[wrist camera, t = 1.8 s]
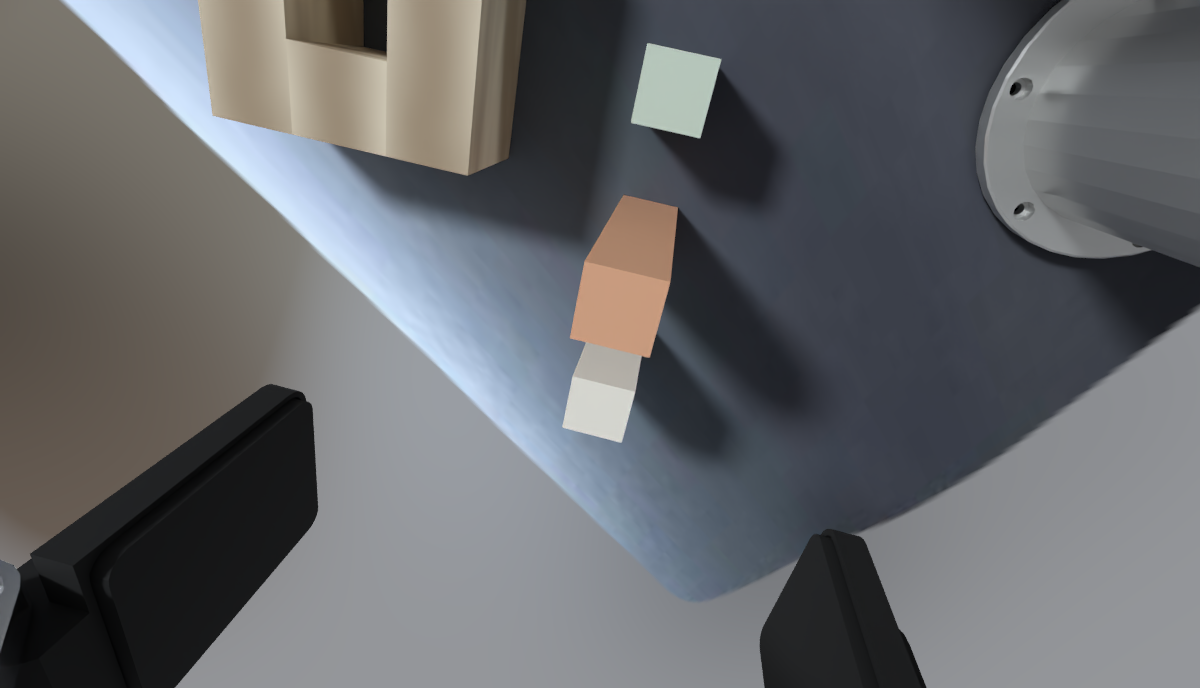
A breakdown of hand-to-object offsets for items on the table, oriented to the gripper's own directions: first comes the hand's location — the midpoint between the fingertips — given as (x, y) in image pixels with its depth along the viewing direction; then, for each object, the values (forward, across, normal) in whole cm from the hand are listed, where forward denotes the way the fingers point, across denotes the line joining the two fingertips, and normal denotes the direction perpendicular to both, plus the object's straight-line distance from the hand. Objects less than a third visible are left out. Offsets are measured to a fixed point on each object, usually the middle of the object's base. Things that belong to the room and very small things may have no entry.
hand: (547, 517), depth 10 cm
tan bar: (+22, 0, 0) cm, 22 cm away
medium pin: (+22, 0, +7) cm, 23 cm away
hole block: (+22, +14, -8) cm, 27 cm away
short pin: (+22, 0, -7) cm, 23 cm away
